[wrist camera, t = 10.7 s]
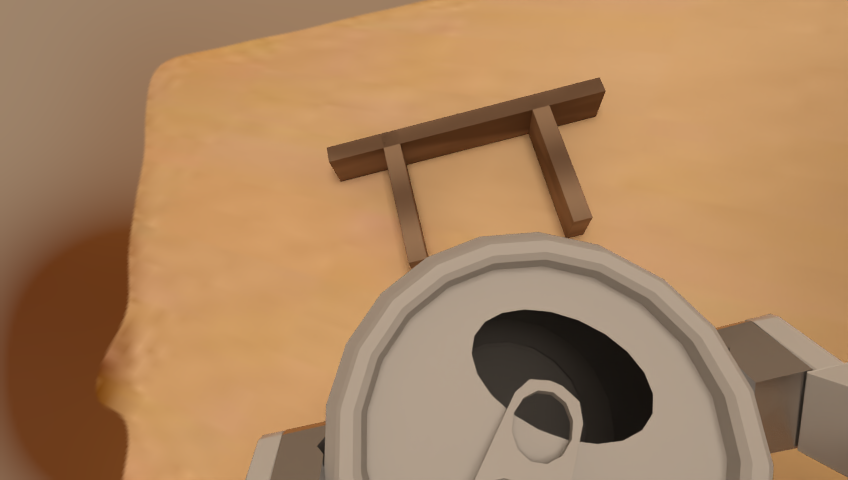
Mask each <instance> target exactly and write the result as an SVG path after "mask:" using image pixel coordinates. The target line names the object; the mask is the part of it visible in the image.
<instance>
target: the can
mask: <svg viewBox="0 0 848 480" xmlns="http://www.w3.org/2000/svg"><path fill="white" fill-rule="evenodd" d="M324 472H325V479H326V480H773V462H772V458H771V455H770V451H769V447H768V443H767V440H766V436H765V432H764V429H763V425H762V421H761V417H760V414H759V410H758V406H757V403H756V399H755V395H754V391H753V389H752V388H751V386H750V384H749V383H748V381H747V379H746V378H745V376H744V375H743V373H742V371H741V370H740V368H739V366H738V365H737V363H736V361H735V360H734V358H733V356H732V355H731V353H730V351H729V350H728V348H727V346H726V345H725V343H724V341H723V340H722V338H721V337H720V335H719V333H718V332H717V330H716V328H715V327H714V326H713V325H712V324H711V323H710V322H709V321H708V320H707V319H706V318H704V317H703V316H702V315H701V314H700V313H699V312H698V311H697V310H696V309H695V308H694V307H693V306H692V305H691V304H690V303H689V302H687V301H686V300H685V299H684V298H683V297H682V296H681V295H680V294H679V293H678V292H677V291H676V290H675V289H674V288H673V287H672V286H670V285H669V284H668V283H667V282H666V281H665V280H664V279H662V278H660V277H658V276H656V275H655V274H653V273H651V272H649V271H647V270H645V269H643V268H641V267H639V266H638V265H636V264H634V263H632V262H630V261H628V260H626V259H624V258H622V257H621V256H619V255H617V254H615V253H613V252H611V251H609V250H607V249H605V248H604V247H602V246H600V245H597V244H592V243H587V242H583V241H578V240H573V239H568V238H564V237H559V236H554V235H550V234H545V233H540V232H534V233H521V234H508V235H495V236H482V237H478V238H475V239H473V240H470V241H468V242H465V243H463V244H460V245H458V246H455V247H452V248H450V249H447V250H445V251H442V252H440V253H437V254H434V255H432V256H429V257H427V258H425V259H424V260H423V261H422V262H420V263H419V264H418V265H416V266H415V267H414V268H413V269H411V270H410V271H409V272H408V273H406V274H405V275H404V276H403V277H401V278H400V279H399V280H398V281H396V282H395V283H394V284H393V285H391V286H390V287H389V288H387V289H386V290H385V291H384V292H382V293H381V294H380V296H379V297H378V299H377V300H376V301H375V303H374V304H373V306H372V307H371V309H370V310H369V312H368V313H367V314H366V316H365V317H364V319H363V320H362V322H361V323H360V325H359V326H358V327H357V329H356V330H355V332H354V333H353V335H352V336H351V338H350V339H349V341H348V342H347V343H346V346H345V349H344V352H343V355H342V358H341V361H340V365H339V368H338V371H337V374H336V377H335V380H334V383H333V386H332V389H331V392H330V395H329V398H328V401H327V404H326V429H325V461H324Z"/></svg>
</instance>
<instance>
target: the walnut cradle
mask: <svg viewBox="0 0 848 480" xmlns="http://www.w3.org/2000/svg"><path fill="white" fill-rule="evenodd" d="M604 94H605V89H604V86H603V84H602V82H601V80H600V78H595V79H592V80H588V81H584V82H580V83H576V84H572V85H568V86H564V87H561V88H557V89H553V90H549V91H545V92H541V93H537V94H533V95H530V96H526V97H522V98H518V99H514V100H510V101H506V102H502V103H499V104H495V105H491V106H487V107H483V108H479V109H475V110H471V111H467V112H464V113H460V114H456V115H452V116H448V117H444V118H440V119H436V120H433V121H429V122H425V123H421V124H417V125H413V126H409V127H405V128H402V129H398V130H394V131H390V132H386V133H382V134H378V135H374V136H371V137H367V138H363V139H359V140H355V141H351V142H347V143H343V144H339V145H336V146H332V147H328V148H327V152H328V158H329V163H330V164H331V166H332V167H333V169H334V171H335V172H336V174H337V176H338V177H339V179H340V181H344V180H348V179H352V178H356V177H360V176H364V175H368V174H371V173H375V172H379V171H383V170H387V169H388V170H389V175H390V180H391V184H392V189H393V193H394V198H395V202H396V207H397V211H398V216H399V220H400V225H401V230H402V234H403V239H404V243H405V248H406V252H407V257H408V261H409V264H410V266H411V268H412V269H413V268H414V267H415V266H416V265H418V264H419V263H420V262H422V261H423V260H424V259H425V258H427V257H428V254H427V250H426V245H425V241H424V237H423V233H422V228H421V224H420V220H419V216H418V212H417V207H416V203H415V199H414V195H413V190H412V186H411V182H410V178H409V174H408V169H407V164H411V163H415V162H418V161H422V160H426V159H430V158H434V157H438V156H442V155H446V154H450V153H454V152H458V151H462V150H465V149H469V148H473V147H477V146H481V145H485V144H489V143H493V142H497V141H501V140H505V139H509V138H512V137H516V136H520V135H524V134H528V133H529V136H530V138H531V141H532V144H533V147H534V150H535V152H536V155H537V158H538V161H539V164H540V166H541V169H542V172H543V175H544V178H545V180H546V183H547V186H548V189H549V192H550V194H551V197H552V200H553V203H554V206H555V208H556V211H557V214H558V217H559V220H560V222H561V225H562V228H563V231H564V234H565V236H566V238H570V237H574V236H578V235H582V234H584V232H585V230H586V228H587V226H588V225H589V223H590V221H591V219H592V215H591V212H590V209H589V207H588V204H587V202H586V199H585V196H584V194H583V191H582V189H581V186H580V183H579V181H578V178H577V176H576V173H575V170H574V168H573V165H572V163H571V160H570V158H569V155H568V152H567V150H566V147H565V145H564V142H563V139H562V137H561V134H560V132H559V129H558V126H559V125H563V124H567V123H571V122H575V121H579V120H583V119H587V118H591V117H595V116H596V115H597V112H598V109H599V107H600V104H601V101H602V99H603V96H604Z"/></svg>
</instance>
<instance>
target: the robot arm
mask: <svg viewBox="0 0 848 480" xmlns="http://www.w3.org/2000/svg"><path fill="white" fill-rule="evenodd" d="M716 330H717V332H718V333H719V335H720V337H721V338H722V340H723V341H724V343H725V345H726V346H727V348H728V350H729V351H730V353H731V355H732V356H733V358H734V360H735V361H736V363H737V365H738V366H739V368H740V370H741V371H742V373H743V375H744V376H745V378H746V379H747V381H748V383H749V384H750V386H751V388H752V389H753V391H754V395H755V399H756V403H757V406H758V410H759V414H760V417H761V421H762V425H763V429H764V432H765V436H766V440H767V443H768V447H769V451H770V453H774V452H779V451H784V450H789V449H794V448H798V451H800V452H802V453H804V454H805V455H807V456H809V457H811V458H813V459H815V460H817V461H818V462H820V463H822V464H824V465H826V466H828V467H830V468H831V469H833V470H835V471H837V472H839V473H841V474H843V475H844V476H846V477H848V363H843V362H842V361H840V360H839V359H838V358H836V357H835V356H833V355H832V354H831V353H829V352H828V351H826V350H825V349H824V348H822V347H821V346H819V345H818V344H817V343H815V342H814V341H812V340H811V339H810V338H808V337H807V336H805V335H804V334H803V333H801V332H800V331H798V330H797V329H796V328H794V327H793V326H791V325H790V324H789V323H787V322H786V321H784V320H783V319H782V318H780V317H779V316H776V315H773V314H767V315H764V316H760V317H756V318H752V319H748V320H745V321H742V322H738V323H734V324H729V325H725V326H721V327H717V328H716ZM325 429H326V421H325V422H320V423H315V424H311V425H306V426H301V427H297V428H292V429H287V430H286V431H281V432H276V433H271V434H266V435H263V436H262V437H261V438H260V439H259V440H258V442H257V446H256V449H255V452H254V455H253V458H252V461H251V464H250V467H249V470H248V473H247V476H246V479H245V480H326V479H325V472H324V461H325Z"/></svg>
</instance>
